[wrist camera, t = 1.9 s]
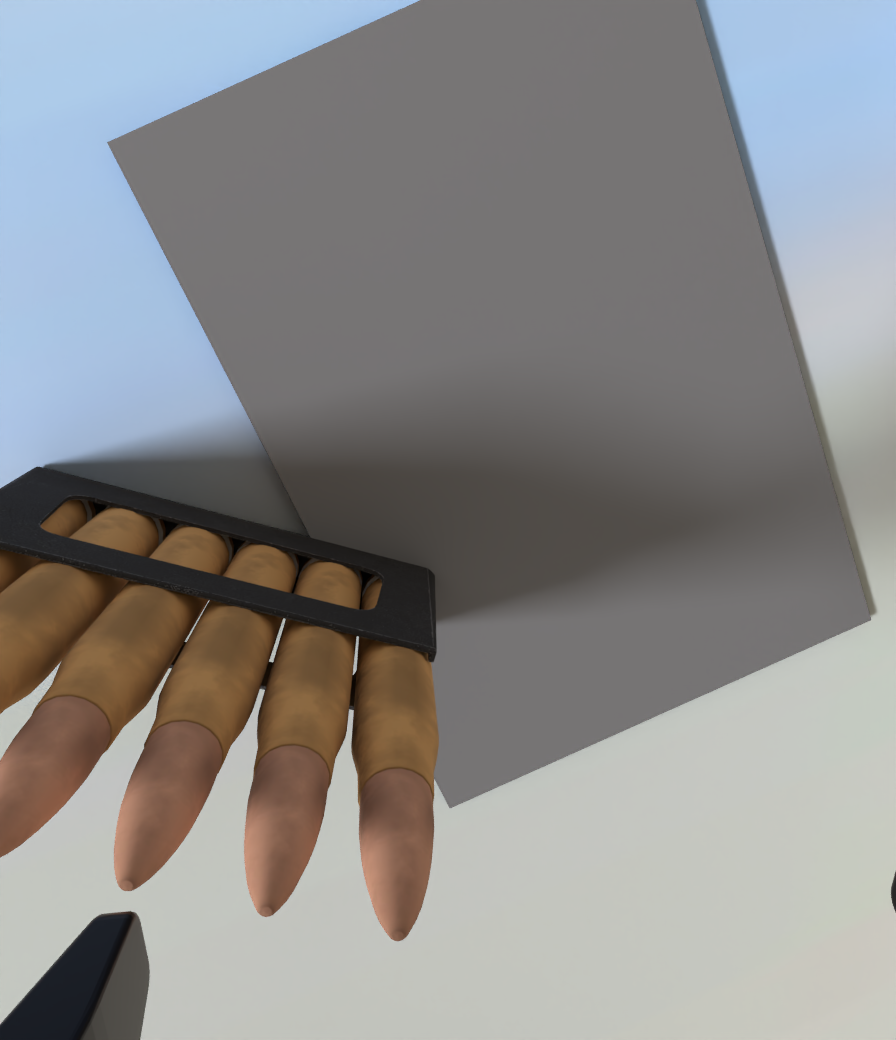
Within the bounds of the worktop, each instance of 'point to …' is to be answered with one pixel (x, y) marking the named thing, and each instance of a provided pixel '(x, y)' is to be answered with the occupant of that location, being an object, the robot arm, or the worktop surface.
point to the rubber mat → (518, 354)
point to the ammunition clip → (216, 681)
